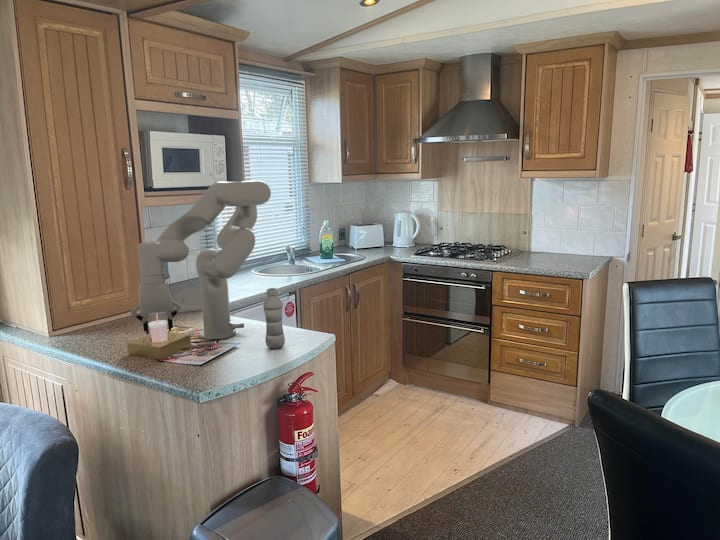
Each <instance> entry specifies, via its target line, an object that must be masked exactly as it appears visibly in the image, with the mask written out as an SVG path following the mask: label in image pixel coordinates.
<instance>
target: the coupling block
mask: <svg viewBox="0 0 720 540" xmlns="http://www.w3.org/2000/svg"><path fill="white" fill-rule="evenodd" d="M167 336H168V340H166V341H163V342H155V343H153V342H152V338H151V333H149V334H146V335H145V336H142V337H139V338H137V339H134V340H132V341H131V340H130V341H128V342H127V343H126V345H127V346H126V347H127V353H128V355H130V356H135V357H136V356H137V357H144V358H149V359H157V360H163V359H165V358H167V357H169V356H171V355H174V354H175V353H178V352H180V350H181V351H182V349H183V350H185V349H187V348H189V347H191V346H192V343H191V342H192V341H191V334H189V333H180V332H174V331H173V332H172V331H167ZM190 345H191V346H190ZM188 346H189V347H188ZM186 347H187V348H186ZM184 348H185V349H184Z"/></svg>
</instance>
